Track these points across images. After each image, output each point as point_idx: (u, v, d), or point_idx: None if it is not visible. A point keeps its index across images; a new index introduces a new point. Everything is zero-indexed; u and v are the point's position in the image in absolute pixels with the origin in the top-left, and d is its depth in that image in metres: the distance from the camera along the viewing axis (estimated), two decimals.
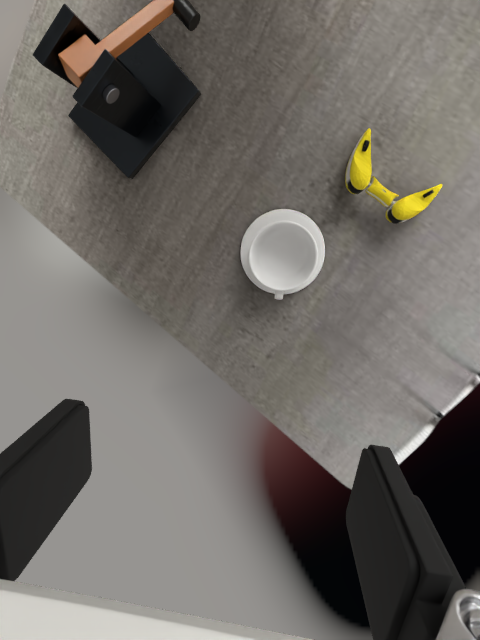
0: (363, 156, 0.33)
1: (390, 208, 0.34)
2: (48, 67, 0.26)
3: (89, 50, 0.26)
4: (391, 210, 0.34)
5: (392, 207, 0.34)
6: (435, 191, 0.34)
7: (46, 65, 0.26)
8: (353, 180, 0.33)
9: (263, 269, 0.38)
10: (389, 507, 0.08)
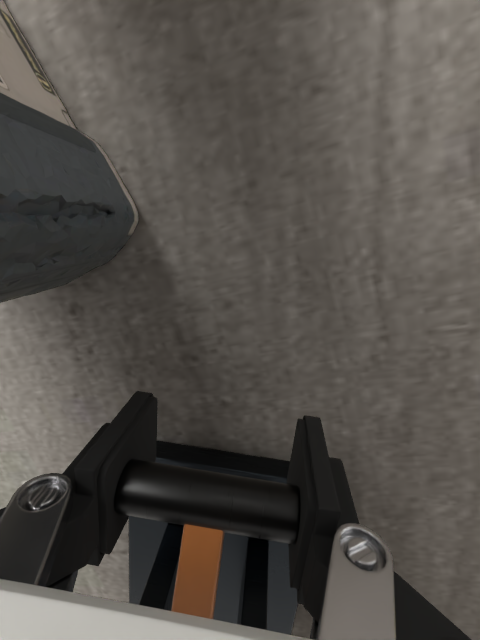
0: None
1: None
2: None
3: None
4: None
5: None
6: None
7: None
8: None
9: None
10: (304, 463, 0.09)
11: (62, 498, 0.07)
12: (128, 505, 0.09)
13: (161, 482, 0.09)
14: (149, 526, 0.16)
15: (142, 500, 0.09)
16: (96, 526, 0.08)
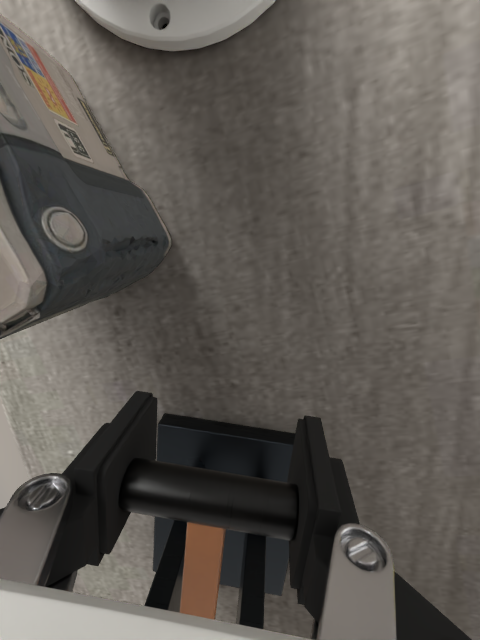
0: None
1: None
2: None
3: None
4: None
5: None
6: None
7: None
8: None
9: None
10: (304, 463, 0.09)
11: (61, 498, 0.07)
12: (132, 509, 0.09)
13: (161, 490, 0.09)
14: None
15: (145, 506, 0.09)
16: (96, 527, 0.08)
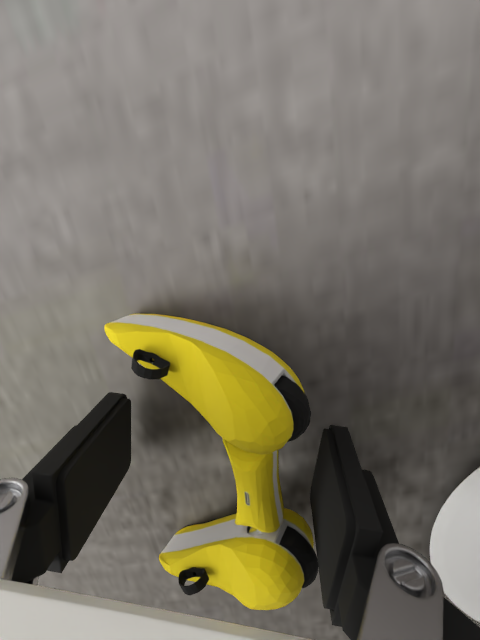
0: (215, 566, 0.11)
1: None
2: None
3: None
4: None
5: None
6: (130, 341, 0.09)
7: None
8: None
9: None
10: (337, 477, 0.09)
11: (16, 504, 0.07)
12: None
13: None
14: None
15: None
16: (57, 533, 0.08)
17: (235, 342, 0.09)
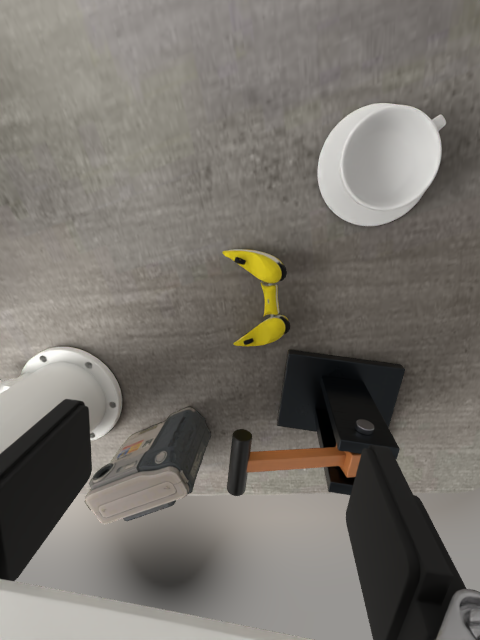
0: (256, 336, 0.33)
1: None
2: None
3: (357, 465, 0.26)
4: (278, 281, 0.30)
5: (275, 282, 0.30)
6: (233, 255, 0.31)
7: None
8: (281, 334, 0.31)
9: (411, 171, 0.28)
10: (389, 507, 0.08)
11: None
12: (241, 491, 0.25)
13: (233, 482, 0.24)
14: None
15: (239, 487, 0.25)
16: None
17: (265, 254, 0.31)
